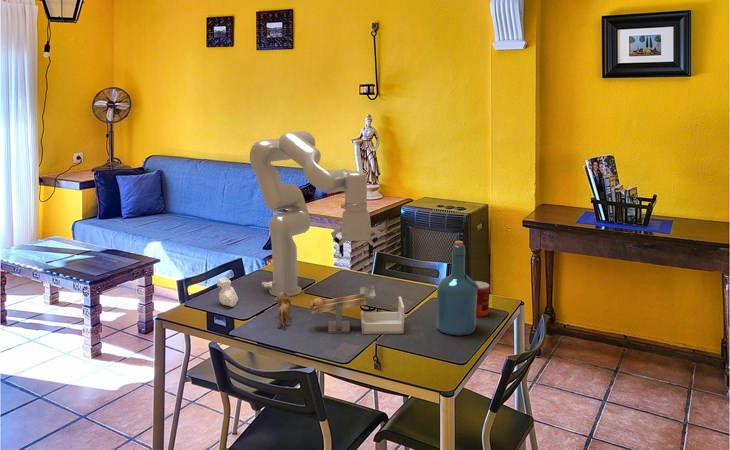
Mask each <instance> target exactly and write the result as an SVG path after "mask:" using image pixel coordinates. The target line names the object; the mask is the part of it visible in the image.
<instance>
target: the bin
mask: <svg viewBox="0 0 730 450" xmlns="http://www.w3.org/2000/svg"><path fill="white" fill-rule="evenodd" d="M397 304H398V308H397V309H398V311H364V310H360V326H361V334H362V335H393V334H394V335H396V334H397V335H400V334H401V335H403V334H405V306H404V302H403V298H402V296H398V303H397Z"/></svg>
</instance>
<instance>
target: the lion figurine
mask: <svg viewBox="0 0 730 450" xmlns="http://www.w3.org/2000/svg"><path fill="white" fill-rule="evenodd" d="M274 300H275V302H276V303H277V304H278V305H279V306H278V307H279V308H278V311H277V328H278V329H281V328H282V327H283V329H284V330H285V329H287V327H286V326H290V325H291V323H290V322H289V320H291V318H292V317H291V306H292V302H291V301H292V300H291V299H290V296H289V297H288V295H287V293H285V292H280V294H279V295H278V296H275V298H274ZM284 319H285V324H286V325H285V324H284ZM281 324H282V326H281Z"/></svg>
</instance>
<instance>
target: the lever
mask: <svg viewBox="0 0 730 450" xmlns="http://www.w3.org/2000/svg"><path fill="white" fill-rule="evenodd" d="M375 298H377V296H376V291H375V285H373V284H372V285H368V286H362V287H361V286H360V287H359V294H353V295H352V294H351V295H347V296H342V297H335V298H331V299H325V300H322V301H323V305H321V306H314V305H313V301H314V299H311V300H310V306H309V307H310V312H311V315H315V314H322V313H326V312H331V311H336V304H342V310H343V309H349V308H355V307H360V306H366V305H367V300H369V299H375Z"/></svg>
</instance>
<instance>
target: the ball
mask: <svg viewBox="0 0 730 450" xmlns="http://www.w3.org/2000/svg"><path fill="white" fill-rule="evenodd" d="M323 301H324V300H322V298H320V297H316V298H314V299H313V305H314V306H321V305H323Z"/></svg>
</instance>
